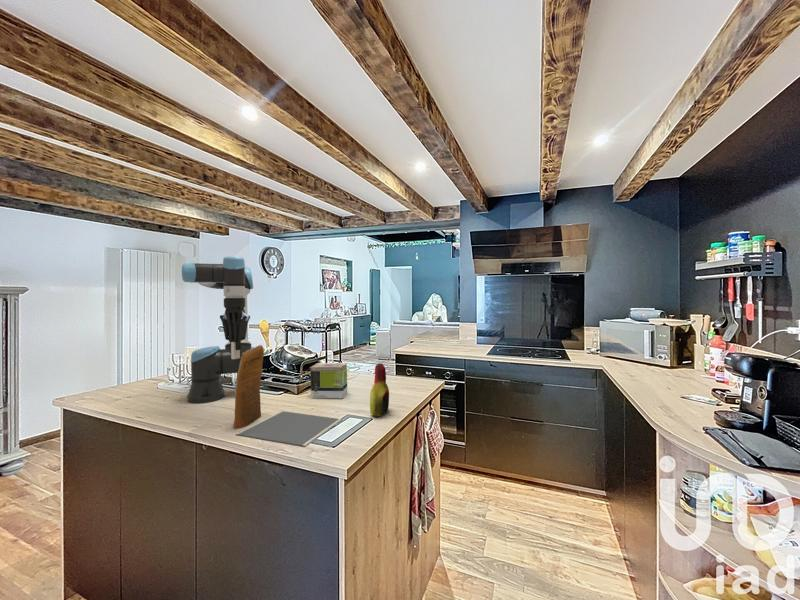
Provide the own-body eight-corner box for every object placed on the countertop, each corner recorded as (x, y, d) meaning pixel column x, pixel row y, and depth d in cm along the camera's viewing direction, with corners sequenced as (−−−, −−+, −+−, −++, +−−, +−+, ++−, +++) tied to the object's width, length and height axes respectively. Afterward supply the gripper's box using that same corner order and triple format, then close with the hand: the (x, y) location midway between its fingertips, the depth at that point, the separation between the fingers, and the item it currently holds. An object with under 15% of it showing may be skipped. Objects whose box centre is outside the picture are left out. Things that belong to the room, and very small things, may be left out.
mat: (235, 435, 120) (235, 433, 120) (281, 411, 143) (281, 410, 143) (304, 446, 111) (304, 445, 111) (341, 420, 133) (341, 419, 133)
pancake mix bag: (270, 412, 142) (269, 344, 141) (243, 431, 123) (242, 352, 122) (255, 411, 143) (254, 343, 142) (226, 430, 124) (224, 352, 123)
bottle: (380, 407, 148) (380, 360, 147) (394, 409, 145) (393, 361, 145) (366, 416, 137) (366, 366, 136) (380, 419, 134) (380, 367, 134)
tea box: (347, 392, 169) (347, 362, 169) (342, 399, 159) (342, 367, 159) (317, 392, 171) (317, 362, 170) (310, 398, 161) (310, 366, 160)
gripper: (213, 297, 132) (214, 359, 133) (240, 297, 128) (241, 361, 129) (229, 297, 140) (230, 355, 140) (255, 297, 135) (256, 357, 136)
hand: (235, 358), depth 134 cm, fingers closed
